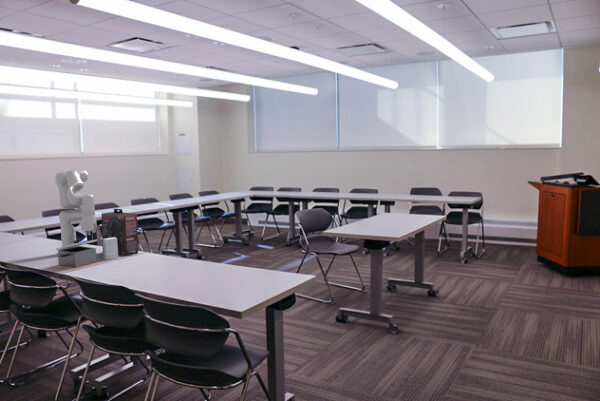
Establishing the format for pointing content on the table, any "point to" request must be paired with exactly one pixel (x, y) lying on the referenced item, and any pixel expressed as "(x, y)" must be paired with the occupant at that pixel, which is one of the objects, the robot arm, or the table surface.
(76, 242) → the lid
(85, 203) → the robot arm
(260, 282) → the table surface
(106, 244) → the skincare box
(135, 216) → the headset box
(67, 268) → the trivet mat
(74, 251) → the gray storage bin
